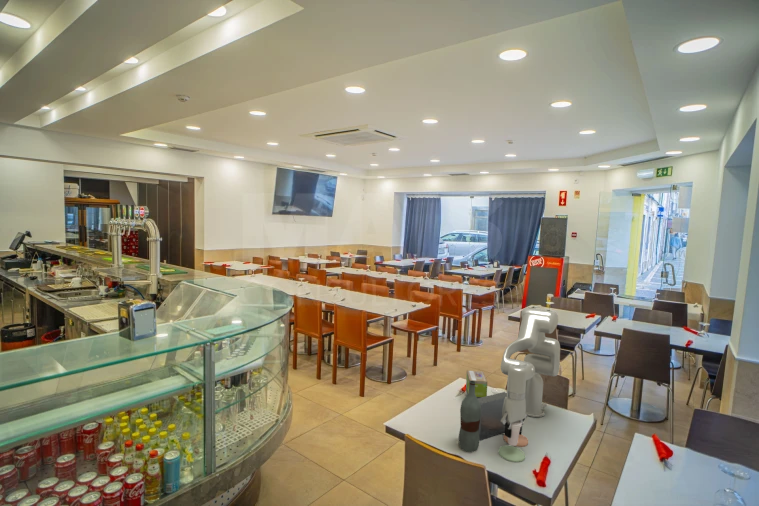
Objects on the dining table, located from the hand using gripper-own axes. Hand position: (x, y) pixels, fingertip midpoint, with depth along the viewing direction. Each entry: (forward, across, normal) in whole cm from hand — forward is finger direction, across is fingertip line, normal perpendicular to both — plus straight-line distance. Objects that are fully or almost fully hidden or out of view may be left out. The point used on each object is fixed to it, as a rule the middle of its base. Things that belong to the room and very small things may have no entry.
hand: (512, 434), depth 173 cm
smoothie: (+4, 0, 0) cm, 4 cm away
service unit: (+9, -6, -18) cm, 21 cm away
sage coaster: (+9, 0, 0) cm, 9 cm away
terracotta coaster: (+9, -11, -8) cm, 16 cm away
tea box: (+9, -24, -48) cm, 54 cm away
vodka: (+9, +13, -13) cm, 21 cm away
